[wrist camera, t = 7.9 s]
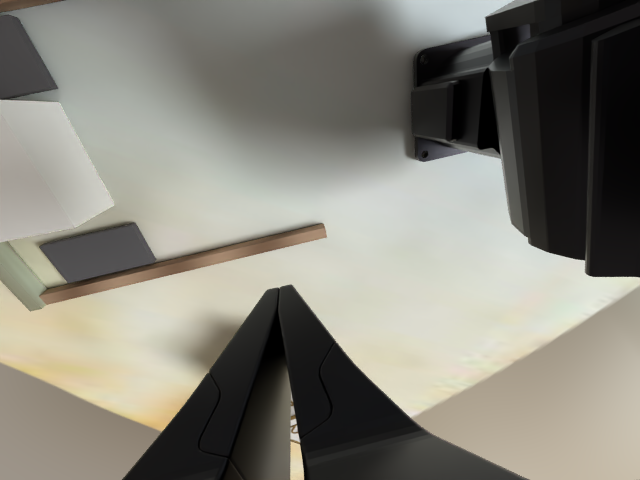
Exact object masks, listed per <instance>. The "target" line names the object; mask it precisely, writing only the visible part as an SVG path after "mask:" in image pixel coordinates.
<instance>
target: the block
mask: <svg viewBox="0 0 640 480" xmlns="http://www.w3.org/2000/svg"><path fill="white" fill-rule="evenodd" d="M114 205H115V204H114V202H113V200H112V198H111V196H110V195H109V193H108V191H107V189H106V187H105V185H104V184H103V182H102V180H101V178H100V176H99V174H98V173H97V171H96V169H95V167H94V165H93V163H92V162H91V160H90V158H89V156H88V154H87V152H86V151H85V149H84V147H83V145H82V143H81V141H80V140H79V138H78V136H77V134H76V132H75V130H74V129H73V127H72V125H71V123H70V121H69V119H68V117H67V116H66V114H65V112H64V110H63V108H62V106H61V105H60V103H59V102H44V101H19V100H0V242H5V241H10V240H15V239H21V238H26V237H31V236H36V235H42V234H47V233H52V232H57V231H63V230H68V229H73V228H76V227H78V226H80V225H81V224H83V223H85V222H86V221H88V220H90V219H92V218H93V217H95V216H97V215H98V214H100V213H102V212H104V211H105V210H107V209H109V208H111V207H112V206H114Z"/></svg>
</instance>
